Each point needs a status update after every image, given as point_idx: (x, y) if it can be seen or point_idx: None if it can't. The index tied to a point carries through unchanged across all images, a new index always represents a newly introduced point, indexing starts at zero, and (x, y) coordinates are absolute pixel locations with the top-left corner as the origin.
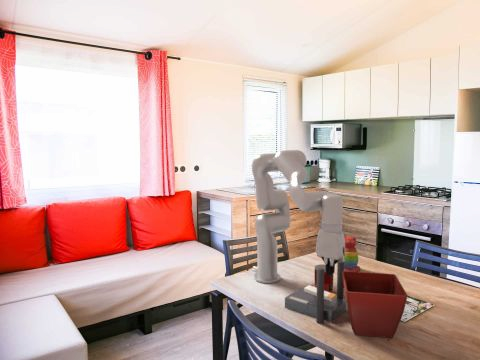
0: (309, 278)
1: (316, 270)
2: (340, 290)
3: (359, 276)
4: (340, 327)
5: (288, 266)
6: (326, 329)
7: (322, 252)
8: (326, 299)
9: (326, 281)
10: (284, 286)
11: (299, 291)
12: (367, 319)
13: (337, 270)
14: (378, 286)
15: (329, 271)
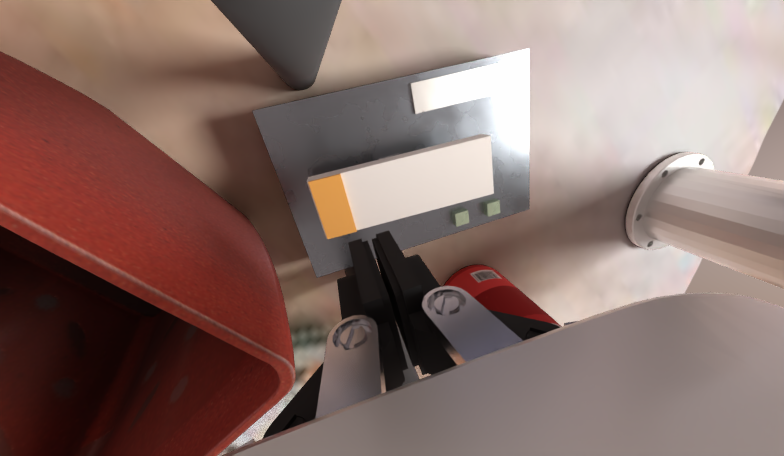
0: (554, 316)
1: (545, 321)
2: None
3: (196, 433)
4: (201, 109)
5: None
6: (220, 30)
7: (694, 435)
8: (341, 169)
9: None
10: (590, 206)
11: (514, 170)
12: None
13: (410, 372)
14: (125, 448)
15: (359, 259)
